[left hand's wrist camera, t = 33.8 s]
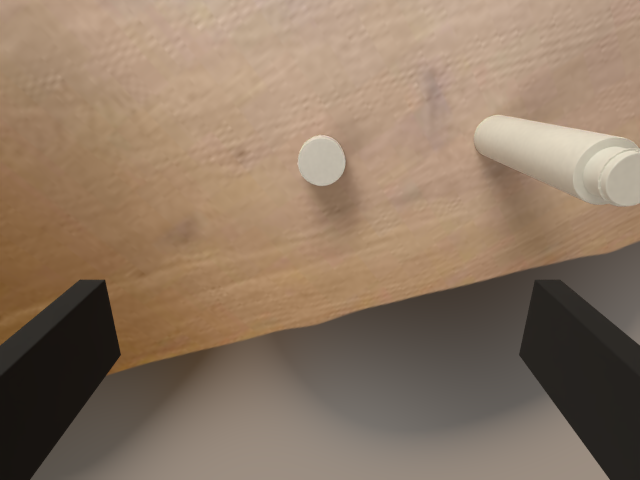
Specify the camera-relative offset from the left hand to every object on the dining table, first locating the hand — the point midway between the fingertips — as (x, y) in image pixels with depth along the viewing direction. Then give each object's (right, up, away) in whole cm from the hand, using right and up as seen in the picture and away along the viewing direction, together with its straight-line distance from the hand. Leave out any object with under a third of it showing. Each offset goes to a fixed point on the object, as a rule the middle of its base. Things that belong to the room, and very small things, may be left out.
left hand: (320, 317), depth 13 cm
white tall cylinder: (+17, +12, +27) cm, 34 cm away
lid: (0, +10, +26) cm, 27 cm away
